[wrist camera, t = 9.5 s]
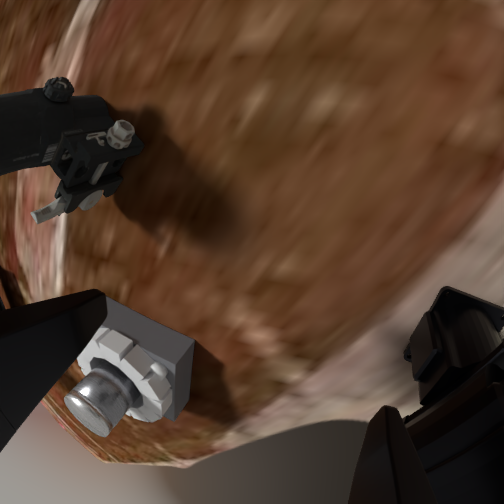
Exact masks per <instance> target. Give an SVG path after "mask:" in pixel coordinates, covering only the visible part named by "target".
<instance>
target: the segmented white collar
mask: <svg viewBox="0 0 504 504" xmlns="http://www.w3.org/2000/svg"><path fill="white" fill-rule="evenodd" d="M106 300H107V309H108V315H107V318H106V320H105V321H104V322H103V324H102V325H101V327H100V328H99V329H98V331H97V332H96V333H95V335H94V336H93V338H92V339H91V340H90V342H89V343H88V345H87V346H86V347H85V349H84V350H83V351H82V353H81V354H80V355H79V356H78V357H77V360H78V363H79V366H80V367H82V368H81V370H82V371H83V373H84V375H85V376H86V375H87V374H88V373H89V372H90V371H91V370H92V369H93V368H94V367H95V366H96V365H98V364H99V363H100V362H101V361H102V360H103V359H105V360H107V361H109V362H110V363H112V364H113V365H115V366H117V367H118V368H120V369H121V370H122V371H123V372H124V373H125V374H126V375H127V376H128V377H129V378H130V379H131V380H132V381H133V382H134V384H135V385H136V387H137V388H138V390H139V391H140V393H141V395H140V396H139V397H138V399H137V400H136V401H135V402H134V404H133V405H132V406H131V407H130V408H129V410H128V411H127V412H126V413H125V414H127V415H129V416H131V415H132V416H133V418H135V419H139V420H143V421H146V422H149V421H151V422H154V421H156V420H158V419H161V418H162V416H164V417H166V418H168V419H170V420H172V421H175V420H176V418H177V417H178V415H179V414H180V412H181V411H182V409H183V408H184V406H185V405H186V403H187V402H188V401H189V394H190V383H191V372H192V362H193V353H194V343H195V340H194V339H192V338H189V337H187V336H185V335H183V334H181V333H178V332H176V331H174V330H172V329H170V328H168V327H166V326H164V325H161V324H159V323H157V322H155V321H153V320H151V319H149V318H147V317H145V316H143V315H141V314H139V313H137V312H135V311H133V310H131V309H129V308H128V307H126V306H124V305H122V304H120V303H118V302H116V301H114V300H112V299H111V298H109V297H107V296H106Z"/></svg>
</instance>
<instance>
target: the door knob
mask: <svg viewBox="0 0 504 504" xmlns="http://www.w3.org/2000/svg"><path fill="white" fill-rule="evenodd" d="M140 395H141V393H140V391H139V390H138V388H137V387H136V385H135V384H134V382H133V381H132V380H131V379H130V378H129V377H128V376H127V375H126V374H125V373H124V372H123V371H122V370H121V369H120V368H118V367H117V366H115V365H113V364H112V363H110V362H109V361H107V360H105V359H103V360H102V361H101V362H100V363H99V364H98V365H96V366H95V367H94V368H93V369H92V370H91V371H90V372H89V373H88V374H87V375H86V376H85V377H84V378H83V379H82V380H81V381H80V382H79V383H78V384H77V385H76V386H75V387H74V388H73V389H72V390H71V391H70V392H69V393H68V394H67V395H66V396H65V397H64V401H65V404H66V405H67V407H68V409H69V410H70V411H71V413H72V414H73V415H74V416H75V417H76V418H77V419H78V420H79V421H80V422H81V423H82V424H83V425H84V426H86V427H87V428H88V429H89V430H91V431H92V432H94V433H95V434H97V435H99V436H102V437H107V435H108V434H109V433H110V432H111V430H112V429H113V428H114V427H115V426H116V424H117V423H118V422H119V421H120V419H121V418H122V417H123V416H124V415H125V413H126V412H127V411H128V410H129V408H130V407H131V406H132V405H133V404H134V402H135V401H136V400H137V399H138V397H139V396H140Z"/></svg>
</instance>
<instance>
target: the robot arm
mask: <svg viewBox="0 0 504 504" xmlns="http://www.w3.org/2000/svg"><path fill="white" fill-rule="evenodd" d="M447 292H448V293H449V294H448V295H447V296H444V294H445V293H447ZM107 315H108V309H107V300H106V295H105V293H103V292H101V291H100V290H98V289H90V290H86V291H82V292H78V293H74V294H69V295H65V296H61V297H57V298H52V299H48V300H44V301H40V302H35V303H31V304H27V305H23V306H19V307H14V308H10V309H6V310H2V311H0V452H1V451H2V450H3V448H4V447H5V446H6V444H7V443H8V442H9V440H10V439H11V437H12V436H13V435H14V434H15V433H16V431H17V430H18V428H19V427H20V426H21V425H22V423H23V422H24V421H25V420H26V418H27V417H28V416H29V415H30V413H31V412H32V411H33V410H34V408H35V407H36V406H37V405H38V403H39V402H40V401H41V400H42V399H43V397H44V396H45V395H46V394H47V393H48V391H49V390H50V389H51V388H52V387H53V385H54V384H55V383H56V382H57V381H58V379H59V378H60V377H61V376H62V375H63V374H64V372H65V371H66V370H67V369H68V368H69V367H70V365H71V364H72V363H73V362H74V361H75V360H76V359H77V357H78V356H79V355H80V354H81V353H82V351H83V350H84V349H85V347H86V346H87V345H88V343H89V342H90V340H91V339H92V338H93V336H94V335H95V333H96V332H97V331H98V329H99V328H100V327H101V325H102V324H103V322H104V321H105V320H106V318H107ZM502 315H504V308H503V307H500V306H498V305H495V304H493V303H490V302H488V301H485V300H483V299H480V298H478V297H475V296H473V295H470V294H467V293H465V292H462V291H460V290H457V289H455V288H452V287H449V286H445V287H443V288H441V290H440V291H439V293H438V295H437V297H436V299H435V301H434V302H433V304H432V306H431V308H430V310H429V311H427V312H426V313H425V314H424V315H423V317H422V319H421V320H420V322H419V324H418V326H417V327H416V329H415V331H414V332H413V334H412V335H411V337H410V339H409V341H410V343H409V344H408V346H407V348H406V349H405V351H404V359H405V360H407V361H409V362H412V371H413V378H414V381H418V383H419V396H420V404H421V405H423V407H422V408H420V409H419V410H417V411H416V412H414V413H413V414H411V415H410V416H409V415H407V416H405V417H404V418H401V416H400V413H399V411H398V410H397V408H395V407H391V406H387V405H384V406H382V407H381V409H380V410H379V411H378V412H377V413H376V414H375V416H374V417H373V418H372V419H371V420H370V422H369V424H368V427H367V431H366V434H365V438H364V441H363V445H362V448H361V452H360V455H359V458H358V462H357V465H356V468H355V472H354V477H353V481H352V486H351V491H350V496H349V500H348V504H504V338H503V339H502V338H501V336H500V333H499V332H500V331H501V329H502V327H503V326H504V316H503V317H501V316H502ZM408 354H411V355H408Z"/></svg>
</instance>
